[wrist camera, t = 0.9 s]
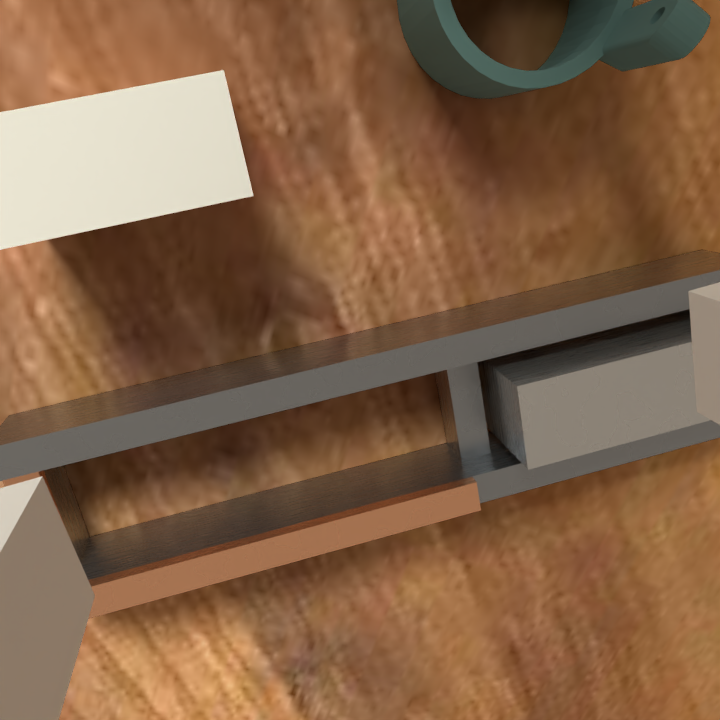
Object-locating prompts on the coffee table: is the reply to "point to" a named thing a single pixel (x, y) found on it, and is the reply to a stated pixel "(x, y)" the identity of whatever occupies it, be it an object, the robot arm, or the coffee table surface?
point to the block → (118, 158)
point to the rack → (408, 471)
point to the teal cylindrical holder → (572, 53)
